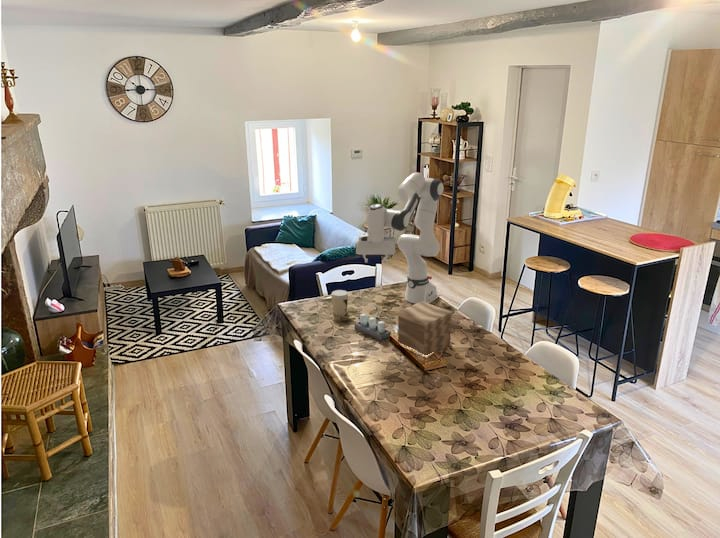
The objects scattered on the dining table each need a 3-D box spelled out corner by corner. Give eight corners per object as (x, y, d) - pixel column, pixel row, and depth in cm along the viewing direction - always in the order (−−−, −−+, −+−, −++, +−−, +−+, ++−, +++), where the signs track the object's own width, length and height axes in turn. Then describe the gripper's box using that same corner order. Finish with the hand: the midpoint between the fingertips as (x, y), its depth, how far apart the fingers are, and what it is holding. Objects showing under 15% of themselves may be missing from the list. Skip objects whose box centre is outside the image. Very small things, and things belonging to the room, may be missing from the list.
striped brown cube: (421, 333, 283) (421, 301, 277) (450, 345, 270) (452, 312, 264) (395, 345, 271) (396, 312, 265) (425, 358, 258) (426, 324, 252)
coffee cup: (348, 315, 305) (347, 296, 301) (331, 316, 305) (330, 296, 301) (348, 309, 313) (348, 289, 309) (332, 309, 314) (331, 289, 310)
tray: (363, 324, 294) (363, 311, 291) (390, 337, 280) (390, 322, 277) (354, 328, 289) (354, 314, 287) (381, 341, 276) (381, 326, 273)
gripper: (395, 235, 282) (395, 260, 287) (356, 234, 282) (355, 260, 287) (396, 238, 276) (395, 264, 281) (356, 238, 276) (355, 264, 281)
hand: (375, 262), depth 284 cm, fingers open, 8 cm apart
